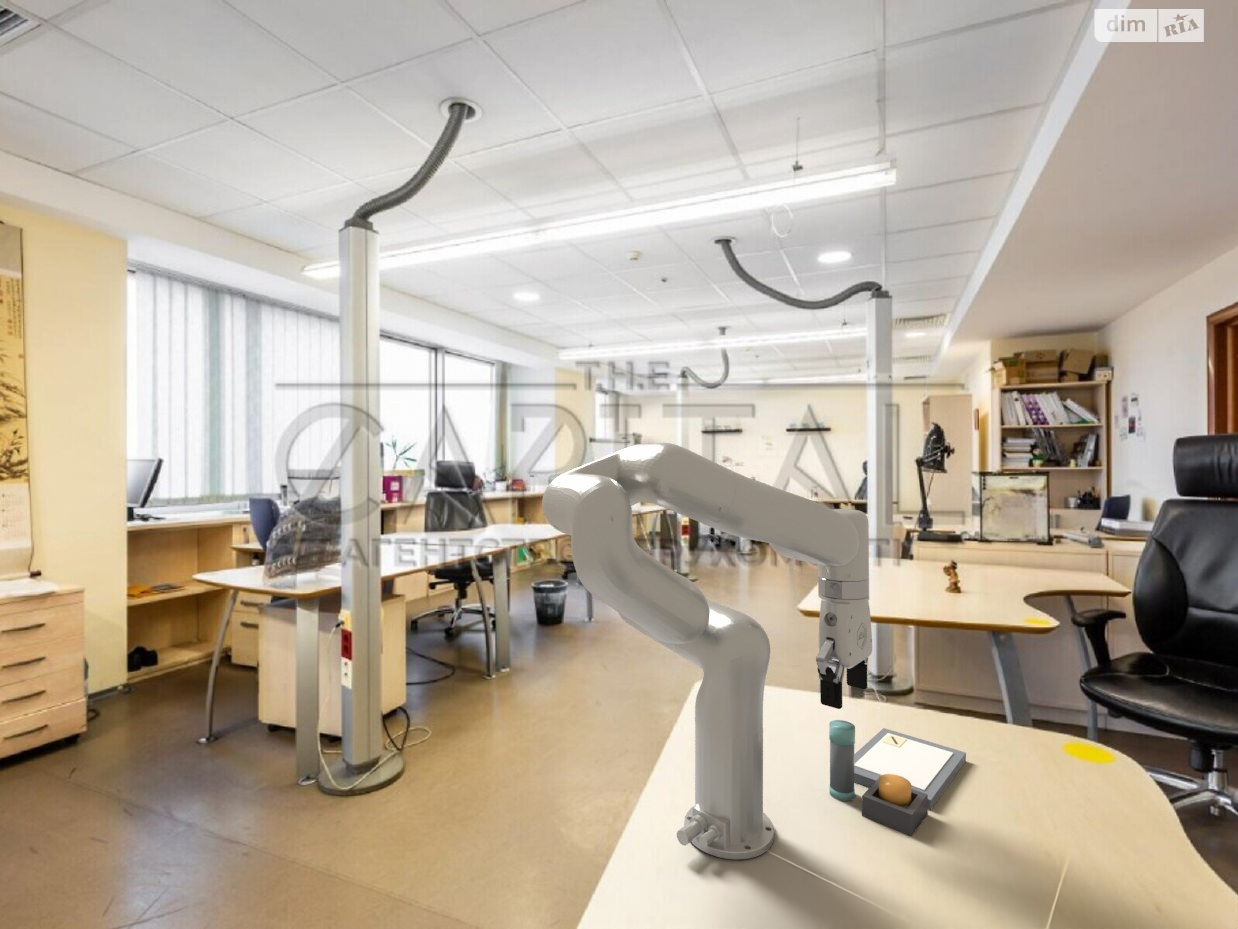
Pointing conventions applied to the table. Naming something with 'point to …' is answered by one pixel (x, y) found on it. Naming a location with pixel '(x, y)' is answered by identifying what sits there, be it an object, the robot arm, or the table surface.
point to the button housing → (895, 810)
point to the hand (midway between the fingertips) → (844, 696)
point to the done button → (895, 789)
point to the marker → (842, 760)
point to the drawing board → (908, 762)
